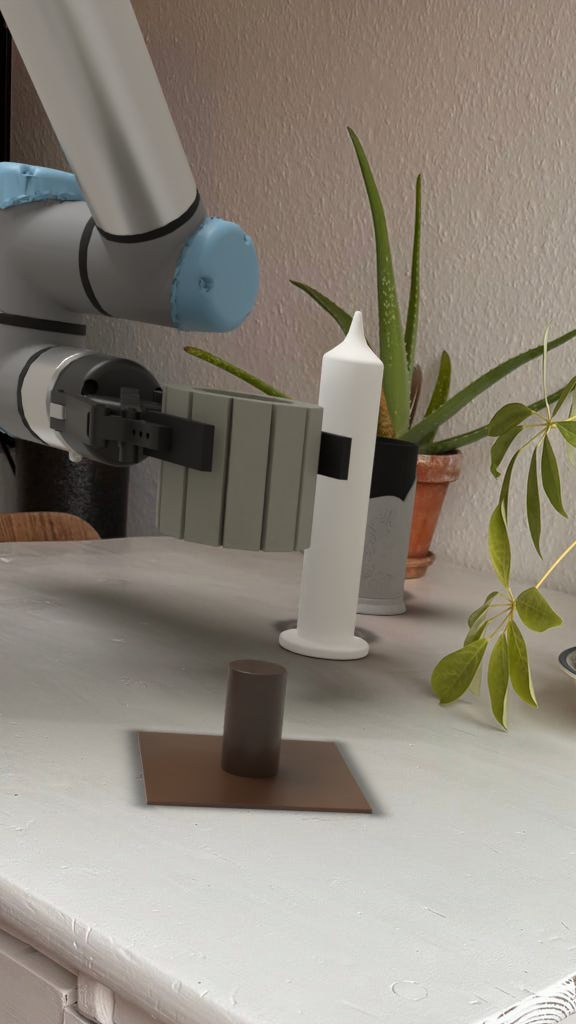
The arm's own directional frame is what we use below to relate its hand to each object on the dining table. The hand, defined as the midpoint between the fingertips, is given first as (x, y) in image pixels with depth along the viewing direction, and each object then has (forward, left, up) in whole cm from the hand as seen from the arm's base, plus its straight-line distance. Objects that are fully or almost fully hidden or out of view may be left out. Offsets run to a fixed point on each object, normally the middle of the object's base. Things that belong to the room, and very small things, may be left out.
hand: (280, 453), depth 81 cm
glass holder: (+11, +34, -16) cm, 39 cm away
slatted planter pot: (-2, +4, -6) cm, 7 cm away
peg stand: (-3, -20, -16) cm, 25 cm away
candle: (+7, +15, -16) cm, 23 cm away
